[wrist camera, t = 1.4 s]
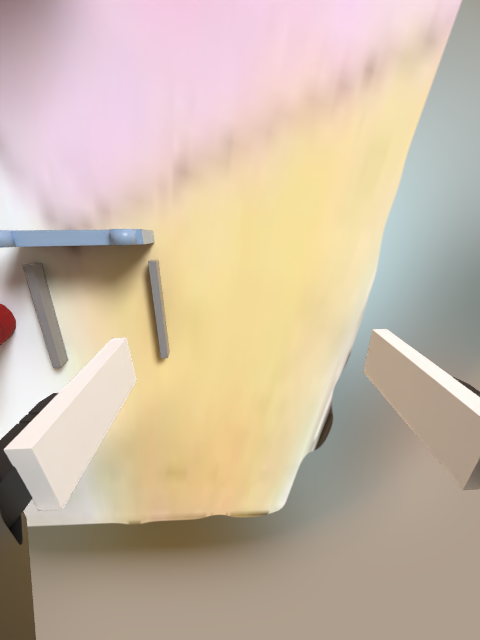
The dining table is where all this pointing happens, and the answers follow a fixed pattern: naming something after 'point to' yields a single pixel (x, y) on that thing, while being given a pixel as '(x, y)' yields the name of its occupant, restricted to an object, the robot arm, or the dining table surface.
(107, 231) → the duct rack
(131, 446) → the dining table surface
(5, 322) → the plastic cup
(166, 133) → the dining table surface
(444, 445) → the robot arm
